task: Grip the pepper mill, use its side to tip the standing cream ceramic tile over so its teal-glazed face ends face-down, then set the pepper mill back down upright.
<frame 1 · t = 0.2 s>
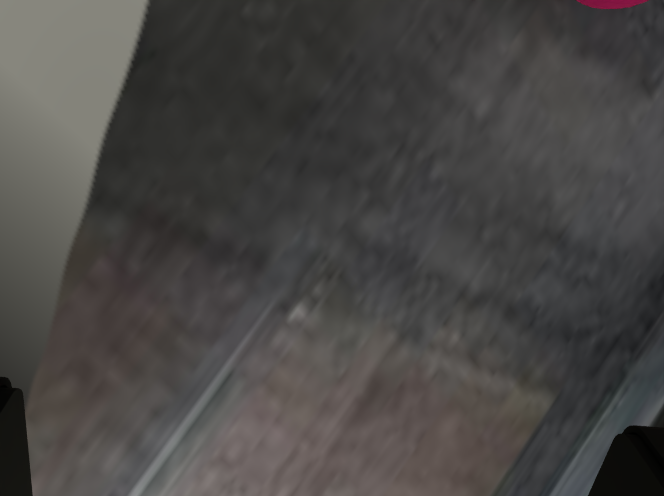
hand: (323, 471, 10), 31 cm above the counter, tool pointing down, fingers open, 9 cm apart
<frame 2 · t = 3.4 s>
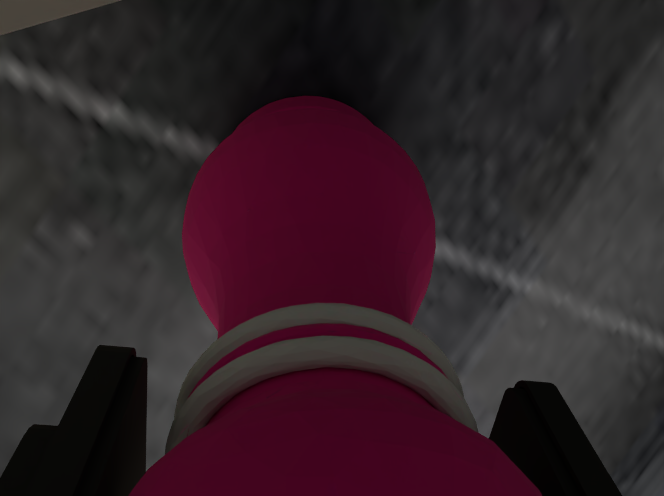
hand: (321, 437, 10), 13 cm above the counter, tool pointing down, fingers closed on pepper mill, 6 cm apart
pepper mill: (306, 180, 22), on the counter, touching gripper
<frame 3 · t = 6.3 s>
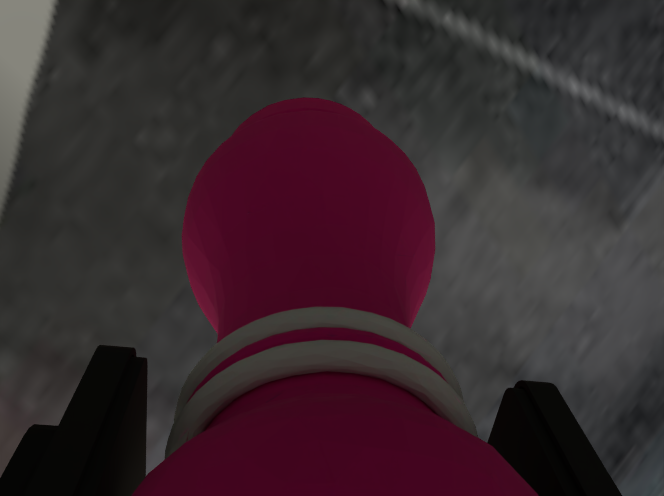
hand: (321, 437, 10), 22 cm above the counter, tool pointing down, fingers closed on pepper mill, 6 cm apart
pepper mill: (306, 182, 22), point 9 cm above the counter, touching gripper
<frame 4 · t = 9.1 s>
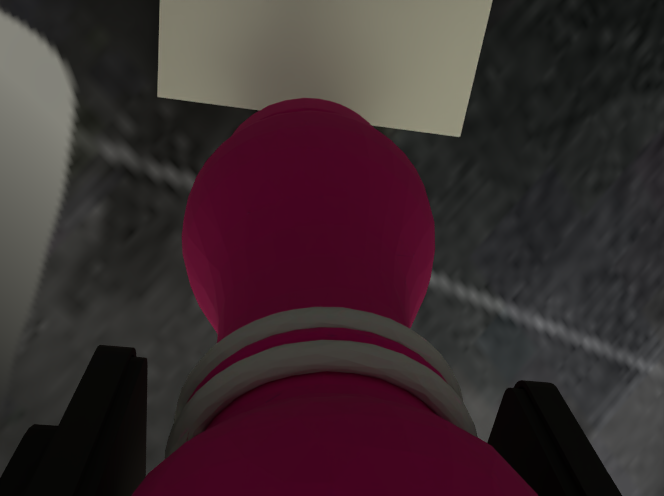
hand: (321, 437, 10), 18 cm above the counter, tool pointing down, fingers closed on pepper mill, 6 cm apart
glazed tile: (312, 110, 25), point 1 cm above the counter, tilted 90°
pepper mill: (306, 182, 22), point 5 cm above the counter, touching gripper
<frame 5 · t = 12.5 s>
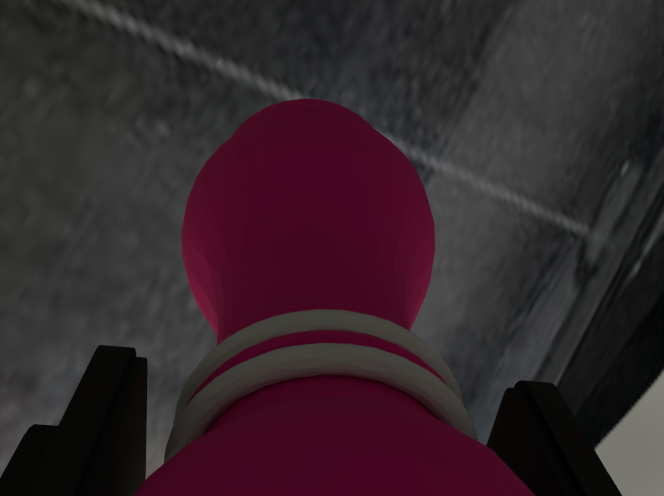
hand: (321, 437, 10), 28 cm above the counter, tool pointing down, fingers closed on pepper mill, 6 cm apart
pepper mill: (306, 183, 22), point 15 cm above the counter, touching gripper
when the fingers open (14 cm above the counter, at t = 15.4 s): pepper mill drops 1 cm, on the counter.
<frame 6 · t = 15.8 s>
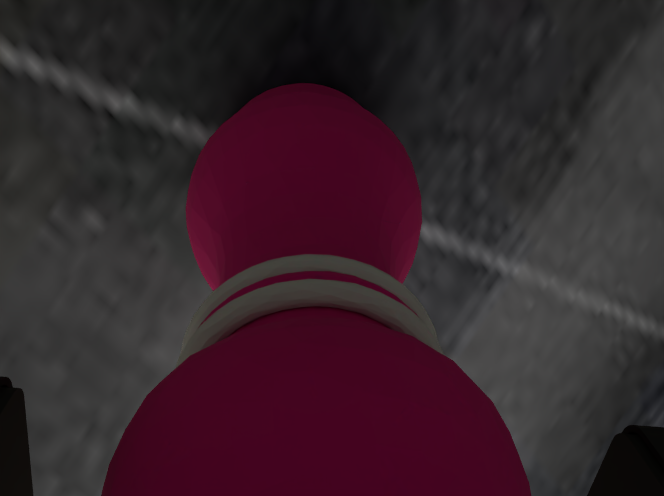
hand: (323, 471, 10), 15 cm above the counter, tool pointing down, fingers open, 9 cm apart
pepper mill: (303, 164, 23), on the counter
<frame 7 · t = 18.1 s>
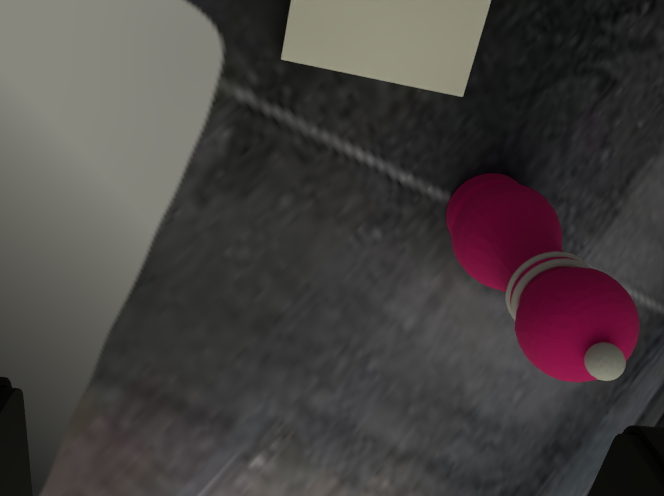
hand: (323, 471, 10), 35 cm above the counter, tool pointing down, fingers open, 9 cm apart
glazed tile: (371, 75, 40), point 1 cm above the counter, tilted 90°
pepper mill: (485, 210, 46), on the counter
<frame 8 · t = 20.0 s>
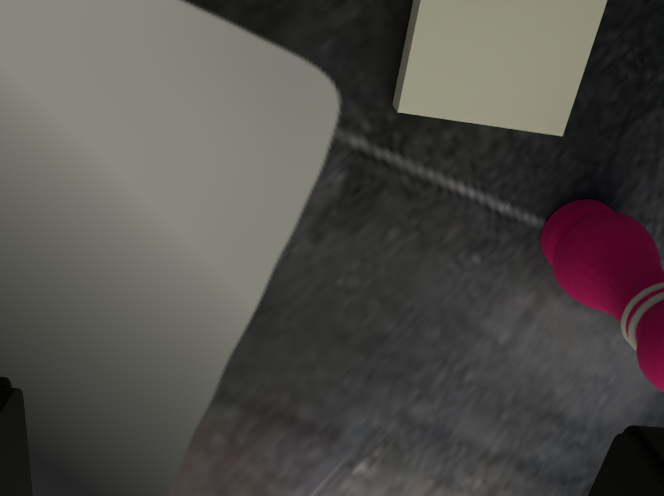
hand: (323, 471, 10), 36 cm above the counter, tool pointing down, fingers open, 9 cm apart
glazed tile: (476, 119, 43), point 1 cm above the counter, tilted 90°
pepper mill: (576, 233, 49), on the counter
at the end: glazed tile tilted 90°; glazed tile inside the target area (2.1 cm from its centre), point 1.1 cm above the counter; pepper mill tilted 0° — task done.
